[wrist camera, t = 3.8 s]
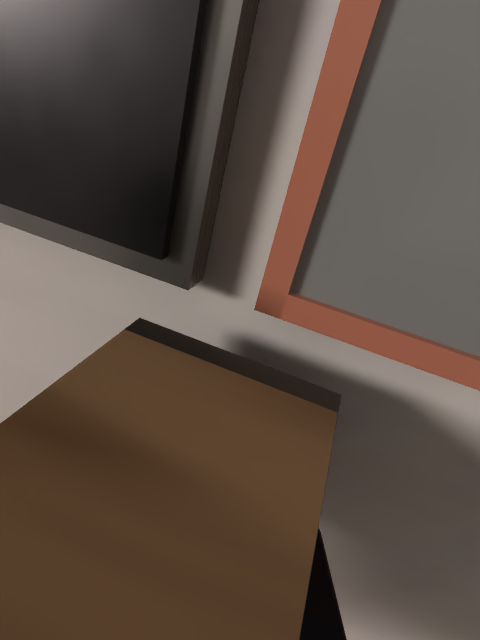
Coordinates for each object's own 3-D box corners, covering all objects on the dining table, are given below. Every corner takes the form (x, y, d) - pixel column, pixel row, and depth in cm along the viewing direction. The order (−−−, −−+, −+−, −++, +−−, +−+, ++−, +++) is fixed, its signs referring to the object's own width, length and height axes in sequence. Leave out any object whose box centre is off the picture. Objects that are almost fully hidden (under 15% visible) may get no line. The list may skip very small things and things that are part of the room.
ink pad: (202, 279, 10) (182, 294, 9) (-67, 183, 11) (-109, 188, 10) (302, -214, 6) (286, -278, 5) (-122, -266, 7) (-197, -324, 6)
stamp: (279, 534, 10) (170, 946, 5) (121, 461, 11) (-115, 755, 6) (340, 394, 8) (262, 853, 3) (139, 318, 9) (-202, 577, 4)
